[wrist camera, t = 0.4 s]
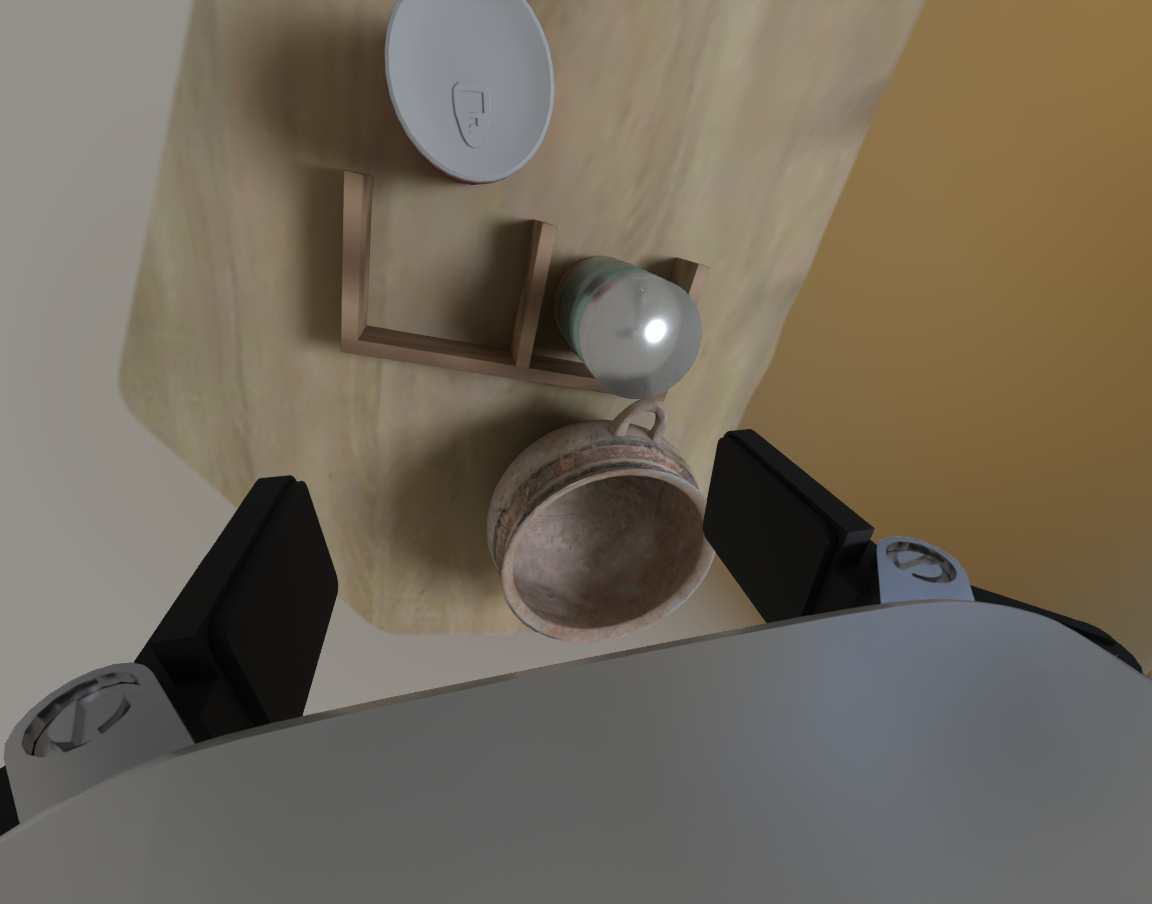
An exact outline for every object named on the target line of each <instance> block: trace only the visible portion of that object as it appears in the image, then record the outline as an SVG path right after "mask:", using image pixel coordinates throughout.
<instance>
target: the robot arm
mask: <svg viewBox="0 0 1152 904" xmlns="http://www.w3.org/2000/svg"><path fill="white" fill-rule="evenodd" d="M873 531H874V528H873V527H872V526H871V525H870V524H869V523H867V522H866V521H865V520H864V519H862V518H861V517H860V516H858V515H857V514H856V513H855V512H854V511H852V510H851V509H850V508H849V507H848V506H846V505H845V504H844V503H843V502H841V501H840V500H839V499H838V498H836V497H835V496H834V495H833V494H831V493H830V492H829V491H828V490H826V489H825V488H824V487H823V486H822V485H820V484H819V483H818V482H817V481H815V480H814V479H813V478H812V477H810V476H809V475H808V474H807V473H806V472H804V471H803V470H802V469H800V468H799V467H798V466H797V465H796V464H794V463H793V462H792V461H791V460H789V459H788V458H787V457H786V456H785V455H783V454H782V453H781V452H780V451H778V450H777V449H776V448H775V447H773V446H772V445H771V444H770V443H768V442H767V441H766V440H765V439H764V438H762V437H761V436H760V435H758V434H757V433H756V432H755V431H753V430H751V429H746V430H735V431H728V432H727V433H726V434H725V435H724V437H723V438H720V439H719V441H718V444H717V449H716V455H715V460H714V466H713V471H712V476H711V482H710V487H709V492H708V498H707V503H706V508H705V514H704V519H703V533H704V536H705V538H706V540H707V541H708V542H709V544H710V545H711V546H712V548H713V549H714V551H715V552H716V553H717V555H718V556H719V558H720V559H721V560H722V562H723V563H724V564H725V566H726V567H727V568H728V570H729V571H730V573H731V574H732V576H733V577H734V578H735V580H736V581H737V583H738V584H739V585H740V587H741V588H742V590H743V591H744V592H745V594H746V595H747V597H748V598H749V599H750V601H751V602H752V604H753V605H754V606H755V608H756V609H757V611H758V612H759V613H760V615H761V616H762V617H763V619H764V620H765V621H766V624H761V625H756V626H750V627H745V628H740V629H734V630H729V631H724V632H719V633H713V634H709V635H703V636H697V637H692V638H687V639H682V640H677V641H672V642H667V643H661V644H657V645H651V646H646V647H641V648H636V649H630V650H625V651H620V652H615V653H610V654H605V655H600V656H595V657H590V658H585V659H579V660H574V661H569V662H564V663H559V664H554V665H549V666H544V667H539V668H534V669H529V670H524V671H519V672H514V673H509V674H504V675H499V676H494V677H489V678H484V679H479V680H474V681H470V682H464V683H459V684H454V685H450V686H445V687H440V688H434V689H429V690H425V691H420V692H415V693H410V694H405V695H400V696H395V697H390V698H386V699H380V700H376V701H371V702H367V703H362V704H357V705H353V706H348V707H343V708H339V709H335V710H329V711H325V712H320V713H316V714H311V715H306V716H303V712H304V708H305V705H306V702H307V698H308V694H309V691H310V688H311V684H312V681H313V677H314V674H315V670H316V666H317V663H318V660H319V656H320V653H321V649H322V646H323V642H324V639H325V635H326V632H327V628H328V624H329V621H330V618H331V614H332V611H333V607H334V604H335V600H336V597H337V593H338V579H337V575H336V572H335V569H334V566H333V563H332V560H331V557H330V554H329V551H328V548H327V545H326V542H325V539H324V536H323V533H322V530H321V527H320V524H319V521H318V518H317V515H316V512H315V509H314V506H313V503H312V500H311V497H310V493H309V490H308V488H307V485H306V484H305V482H303V481H298V482H297V481H296V479H295V478H294V477H293V476H291V475H288V476H278V477H268V478H260V479H258V480H257V481H256V482H255V484H254V485H253V487H252V488H251V490H250V491H249V493H248V494H247V496H246V497H245V499H244V500H243V502H242V503H241V505H240V506H239V508H238V509H237V511H236V512H235V514H234V515H233V517H232V518H231V520H230V521H229V523H228V524H227V526H226V527H225V529H224V530H223V532H222V533H221V535H220V536H219V537H218V539H217V540H216V542H215V543H214V545H213V546H212V548H211V549H210V551H209V552H208V554H207V555H206V556H205V558H204V559H203V560H202V562H201V563H200V565H199V566H198V568H197V569H196V571H195V572H194V574H193V575H192V577H191V578H190V580H189V581H188V583H187V584H186V586H185V587H184V588H183V590H182V592H181V593H180V594H179V596H178V597H177V599H176V600H175V602H174V603H173V605H172V606H171V608H170V609H169V611H168V612H167V614H166V615H165V617H164V618H163V620H162V621H161V623H160V624H159V626H158V627H157V629H156V630H155V632H154V633H153V635H152V636H151V637H150V639H149V640H148V642H147V643H146V645H145V647H144V648H143V649H142V651H141V652H140V654H139V655H138V657H137V658H136V660H135V661H134V663H121V664H113V665H110V666H106V667H103V668H100V669H96V670H93V671H91V672H89V673H87V674H84V675H82V676H80V677H78V678H76V679H73V680H71V681H70V682H68V683H66V684H65V685H63V686H62V687H60V688H58V689H57V690H55V691H54V692H52V693H50V694H49V695H48V696H46V697H45V698H44V699H43V700H42V701H40V702H39V703H38V704H37V705H35V706H34V707H33V708H32V709H30V710H29V712H28V713H27V714H26V715H25V716H24V717H23V718H22V719H21V721H20V722H19V723H18V724H17V725H16V726H15V727H14V729H13V731H12V733H11V734H10V736H9V738H8V739H7V741H6V743H5V750H4V761H5V766H4V767H2V768H0V904H1152V669H1151V670H1150V671H1149V672H1148V673H1147V674H1144V673H1142V668H1141V666H1140V665H1139V663H1138V662H1137V660H1136V659H1135V658H1134V656H1133V655H1132V654H1130V653H1129V652H1128V651H1127V650H1126V649H1125V648H1124V647H1123V646H1122V645H1121V644H1119V643H1118V642H1116V641H1115V640H1114V639H1113V638H1112V637H1111V636H1110V635H1108V634H1107V633H1105V632H1104V631H1102V630H1101V629H1099V628H1097V627H1095V626H1093V625H1090V624H1088V623H1085V622H1082V621H1078V620H1075V619H1072V618H1069V617H1066V616H1063V615H1060V614H1056V613H1054V612H1051V611H1047V610H1045V609H1041V608H1038V607H1035V606H1032V605H1029V604H1026V603H1023V602H1020V601H1017V600H1014V599H1011V598H1008V597H1005V596H1002V595H999V594H996V593H992V592H989V591H986V590H983V589H980V588H977V587H974V586H971V585H970V584H969V580H968V577H967V574H966V572H965V570H964V569H963V567H962V565H960V564H959V563H958V562H957V561H956V560H955V559H954V558H953V557H952V556H950V555H949V554H947V553H946V552H944V551H943V550H941V549H939V548H937V547H935V546H933V545H931V544H929V543H926V542H923V541H920V540H917V539H912V538H907V537H888V538H885V539H882V540H881V541H880V542H879V543H878V544H877V545H876V544H875V543H874V542H873V541H871V540H870V538H871V536H872V533H873Z"/></svg>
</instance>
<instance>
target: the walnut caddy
mask: <svg viewBox="0 0 1152 904" xmlns="http://www.w3.org/2000/svg"><path fill="white" fill-rule="evenodd" d="M372 183H373V177H372V176H368V175H365V174H361V173H357V172H352V171H347V170H344V205H343V264H342V322H341V352H346V353H352V354H359V355H365V356H372V357H378V358H385V359H391V360H397V361H404V362H410V363H417V364H423V365H430V366H436V367H443V368H449V369H456V370H462V371H469V372H475V373H482V374H488V375H495V376H501V377H508V378H514V379H521V380H527V381H534V382H540V383H547V384H553V385H560V386H566V387H573V388H579V389H585V390H592V391H598V392H605V393H611V392H609V391H608V390H607V389H605V388H604V387H603V386H602V385H601V384H600V383H599V382H598V381H597V379H596V378H595V377H594V375H593V374H592V373H591V372H590V371H589V370H588V369H587V367H586V366H585V365H584V363H580V362H574V361H568V360H563V359H557V358H551V357H545V356H539V355H534V354H532V350H533V345H534V340H535V335H536V330H537V325H538V320H539V315H540V310H541V305H542V300H543V295H544V290H545V285H546V280H547V276H548V271H549V266H550V261H551V256H552V251H553V246H554V241H555V236H556V231H557V226H554V225H551V224H548V223H545V222H541V221H538V220H534V223H533V228H532V234H531V239H530V245H529V250H528V256H527V261H526V267H525V272H524V278H523V283H522V289H521V294H520V300H519V305H518V311H517V317H516V322H515V328H514V333H513V339H512V344H511V350H505V349H499V348H493V347H487V346H482V345H476V344H470V343H464V342H458V341H453V340H447V339H441V338H435V337H430V336H424V335H418V334H412V333H406V332H401V331H395V330H389V329H383V328H377V327H372V326H367V305H368V281H369V257H370V232H371V208H372ZM709 270H710V267H708V266H705V265H701V264H698V263H695V262H691V261H688V260H684V259H680V258H677V259H676V262H675V265H674V268H673V271H672V274H671V278H670V281H669V282H672V283H674V284H676V285H678V286H679V287H681V288H682V289H683V290H685V291H686V292H687V294H688V295H689V296H690V297H691V298H692V300H693V301H694V303H695V305H696V307H697V304H698V301H699V298H700V296H701V293H702V290H703V287H704V284H705V281H706V278H707V275H708V272H709ZM667 391H668V390H666V391H664V392H663V393H660V394H658V395H656V396H652V397H649V398H644V399H652V400H657V401H663V402H664V400H665V397H666V394H667ZM611 394H613V393H611Z"/></svg>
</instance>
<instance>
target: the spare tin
mask: <svg viewBox="0 0 1152 904" xmlns="http://www.w3.org/2000/svg"><path fill="white" fill-rule="evenodd" d="M553 310H554V317H555V321H556V324H557V326H558V328H559V330H560V332H561V333H562V334H563V336H564V338H565V339H566V341H567V342H568V343H569V345H570V346H571V347H572V349H573V350H574V351H575V353H576V354H577V355H578V357H579V358H580V359H581V361H582V362H583V363H584V365H585V366H586V367H587V369H588V370H589V371H590V372H591V373H592V374H593V375H594V377H595V378H596V379H597V381H598V382H599V383H600V384H601V385H602V386H603V387H604V388H605V389H607V390H608V391H609V392H611V393H613V394H615V395H617V396H620V397H624V398H629V399H643V398H649V397H652V396H656V395H658V394H660V393H663V392H664V391H666V390H668V389H669V388H671V387H672V386H674V385H675V384H676V383H677V382H678V381H679V380H681V378H682V377H683V376H684V375H685V374H686V373H687V371H688V370H689V369H690V367H691V365H692V364H693V362H694V360H695V358H696V355H697V353H698V350H699V346H700V342H701V332H702V328H701V319H700V315H699V312H698V309H697V307H696V305H695V303H694V301H693V300H692V298H691V297H690V296H689V295H688V294H687V292H686V291H685V290H683V289H682V288H681V287H679V286H678V285H676V284H674V283H672V282H669V281H667V280H665V279H663V278H661V277H659V276H657V275H655V274H653V273H650V272H648V271H645V270H643V269H641V268H638V267H636V266H633V265H631V264H629V263H626V262H623V261H620V260H617V259H615V258H612V257H607V256H595V257H590V258H586V259H584V260H582V261H580V262H578V263H576V264H575V265H574V266H572V267H571V268H570V269H569V270H568V271H567V272H566V273H565V275H564V276H563V277H562V279H561V280H560V282H559V284H558V287H557V289H556V292H555V296H554V302H553Z"/></svg>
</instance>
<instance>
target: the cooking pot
mask: <svg viewBox="0 0 1152 904" xmlns="http://www.w3.org/2000/svg"><path fill="white" fill-rule="evenodd" d="M643 411H649V412H654V413H655V414H656V419H655V424H654V426H653V428H652V429H651V430H648V429H646V428H644V427H641V426H637V425H634V424H630V421H631V420H632V419H633V418H634V417H635V416H636V415H638V414H639V413H641V412H643ZM666 422H667V414H666V410H665V408H664V406H663V405H662V404H661V403H660V402H658V401H656V400H652V399H641V400H638V401H636V402H634V403H633V404H631V405H630V406H628V407H627V408H626V409H625V410H623V411H622V412H621V413H620V414H619V415H618V416H617V417H616V418H615V419H614V420H613V421H610V420H595V421H584V422H580V423H575V424H571V425H567V426H564V427H562V428H559V429H557V430H554V431H552V432H550V433H548V434H546V435H545V436H543V437H541V438H539V439H538V440H536V441H534V442H533V443H532V444H531V445H530V446H528V447H527V448H526V449H525V450H524V451H522V452H521V453H520V454H519V455H518V456H517V457H516V458H515V460H514V461H513V462H512V463H511V464H510V465H509V466H508V468H507V469H506V471H505V472H504V474H503V476H502V477H501V479H500V481H499V482H498V484H497V486H496V488H495V490H494V493H493V496H492V498H491V501H490V504H489V509H488V516H487V523H486V526H487V540H488V547H489V550H490V554H491V557H492V560H493V563H494V565H495V567H496V569H497V570H498V572H499V574H500V576H501V581H502V590H503V593H504V596H505V599H506V602H507V604H508V605H509V607H510V608H511V610H512V612H513V613H514V615H515V616H516V617H517V618H518V619H519V620H520V621H521V622H522V623H523V624H525V625H526V626H528V627H529V628H531V629H532V630H534V631H535V632H538V633H540V634H542V635H545V636H547V637H550V638H554V639H558V640H563V641H571V642H599V641H604V640H610V639H615V638H619V637H622V636H626V635H629V634H632V633H635V632H637V631H639V630H642V629H644V628H646V627H648V626H650V625H652V624H654V623H656V622H657V621H659V620H661V619H663V618H664V617H665V616H667V615H668V614H670V613H671V612H672V611H674V610H675V609H677V608H678V607H679V606H680V605H681V604H682V603H683V602H684V601H685V600H687V599H688V598H689V597H690V595H691V594H692V593H693V592H694V591H695V590H696V588H697V587H698V586H699V585H700V583H701V581H702V580H703V578H704V577H705V575H706V574H707V572H708V570H709V568H710V565H711V563H712V561H713V558H714V555H715V551H714V549H713V548H712V546H711V545H710V544H709V542H708V541H707V540H706V538H705V536H704V533H703V519H704V514H705V508H706V503H707V499H706V498H705V497H704V496H703V494H702V493H701V492H700V491H699V487H698V484H697V481H696V479H695V477H694V475H693V473H692V470H691V468H690V466H689V464H688V463H687V462H686V460H685V459H684V458H683V457H682V455H681V454H680V453H679V451H678V450H677V449H676V448H675V447H674V446H672V445H671V444H670V443H669V442H668V441H666V440H665V439H664V438H663V433H664V430H665V426H666Z"/></svg>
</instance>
